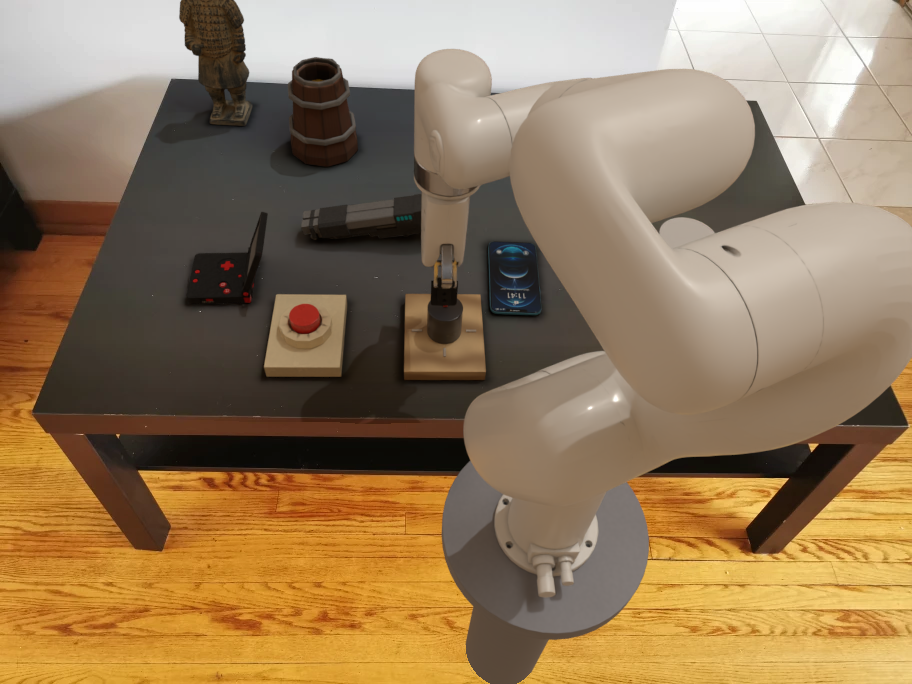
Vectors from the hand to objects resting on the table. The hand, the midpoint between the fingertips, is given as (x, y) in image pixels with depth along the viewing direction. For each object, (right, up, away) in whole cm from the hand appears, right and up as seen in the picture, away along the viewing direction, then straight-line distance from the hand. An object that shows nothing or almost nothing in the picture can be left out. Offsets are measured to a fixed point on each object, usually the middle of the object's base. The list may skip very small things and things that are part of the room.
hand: (442, 274), depth 90 cm
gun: (-12, +8, +23) cm, 27 cm away
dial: (0, -7, +8) cm, 11 cm away
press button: (-19, -6, +6) cm, 21 cm away
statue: (-40, +34, +41) cm, 66 cm away
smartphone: (+11, +1, +18) cm, 21 cm away
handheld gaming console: (-31, 0, +15) cm, 35 cm away
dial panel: (0, -8, +10) cm, 13 cm away
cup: (+34, -1, +18) cm, 38 cm away
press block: (-19, -8, +9) cm, 23 cm away
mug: (-21, +28, +37) cm, 51 cm away
